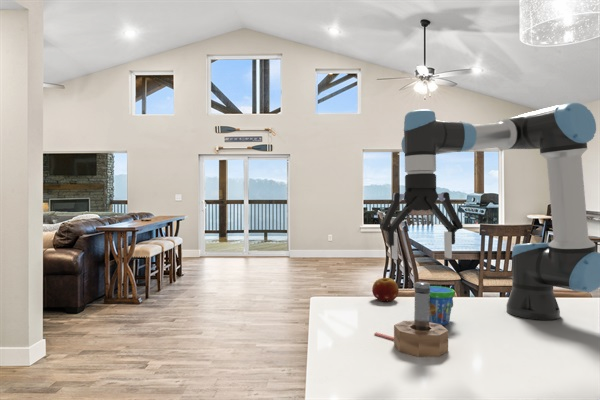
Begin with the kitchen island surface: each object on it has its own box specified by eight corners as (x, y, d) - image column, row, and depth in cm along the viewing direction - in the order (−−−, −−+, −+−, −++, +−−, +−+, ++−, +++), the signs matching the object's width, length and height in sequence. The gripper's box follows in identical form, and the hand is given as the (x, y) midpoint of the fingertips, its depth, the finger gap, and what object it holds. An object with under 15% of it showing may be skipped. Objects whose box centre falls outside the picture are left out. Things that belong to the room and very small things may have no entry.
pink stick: (415, 345, 105) (415, 343, 105) (413, 346, 104) (413, 344, 104) (376, 334, 114) (376, 332, 114) (374, 335, 113) (374, 333, 113)
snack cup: (438, 314, 133) (438, 283, 133) (467, 322, 125) (467, 288, 125) (404, 322, 125) (404, 288, 125) (433, 331, 116) (433, 295, 116)
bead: (435, 339, 109) (435, 320, 109) (454, 356, 97) (454, 334, 97) (390, 340, 109) (390, 321, 109) (404, 357, 97) (404, 335, 97)
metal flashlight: (426, 344, 105) (427, 282, 105) (431, 350, 101) (432, 285, 101) (411, 344, 105) (412, 281, 105) (416, 350, 101) (417, 284, 101)
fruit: (372, 302, 150) (372, 280, 150) (372, 297, 158) (372, 276, 158) (399, 303, 148) (399, 281, 148) (397, 297, 157) (397, 276, 157)
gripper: (462, 173, 108) (463, 255, 108) (367, 174, 106) (368, 257, 106) (476, 171, 100) (477, 259, 100) (374, 172, 99) (375, 261, 99)
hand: (421, 258), depth 103 cm, fingers open, 13 cm apart
